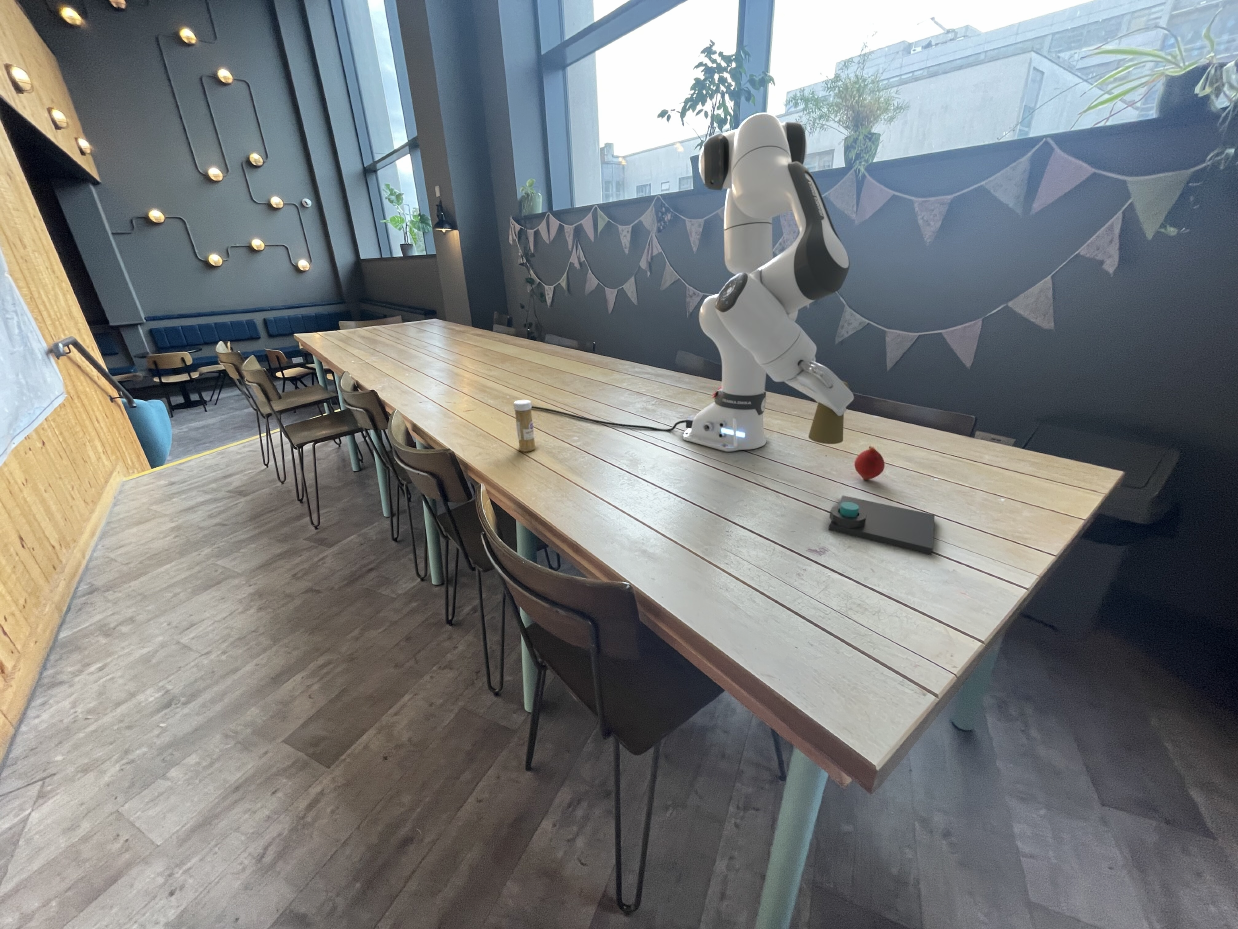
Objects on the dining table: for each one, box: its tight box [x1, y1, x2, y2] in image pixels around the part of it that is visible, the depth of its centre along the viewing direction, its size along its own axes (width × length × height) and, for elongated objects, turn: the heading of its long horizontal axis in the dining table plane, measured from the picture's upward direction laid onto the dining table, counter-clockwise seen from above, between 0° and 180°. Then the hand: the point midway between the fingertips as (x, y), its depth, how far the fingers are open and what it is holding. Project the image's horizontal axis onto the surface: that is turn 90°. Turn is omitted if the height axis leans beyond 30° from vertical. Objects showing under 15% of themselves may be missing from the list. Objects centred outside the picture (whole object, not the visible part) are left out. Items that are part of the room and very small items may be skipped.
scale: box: [828, 495, 936, 556], centre depth 87 cm, size 16×13×3 cm
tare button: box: [839, 502, 859, 517], centre depth 86 cm, size 3×3×2 cm
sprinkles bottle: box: [513, 399, 536, 453], centre depth 126 cm, size 5×5×14 cm
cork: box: [807, 379, 850, 445], centre depth 86 cm, size 6×6×11 cm
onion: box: [853, 445, 885, 481], centre depth 103 cm, size 6×6×8 cm
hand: (833, 407), depth 86 cm, fingers closed on cork, 4 cm apart
